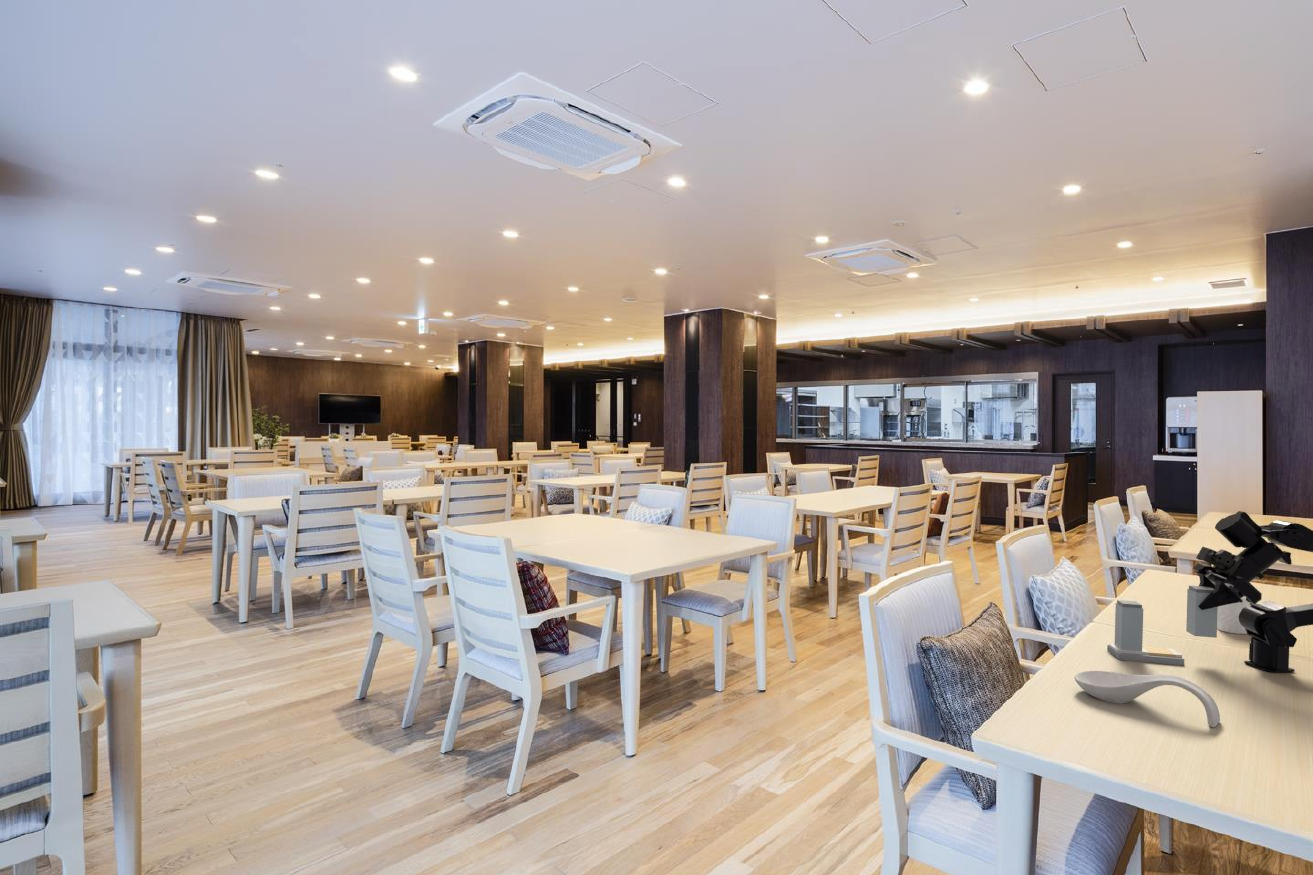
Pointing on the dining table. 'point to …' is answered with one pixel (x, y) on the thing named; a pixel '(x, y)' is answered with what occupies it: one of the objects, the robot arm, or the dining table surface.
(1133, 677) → the grey spoon
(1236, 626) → the white cup
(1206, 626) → the block
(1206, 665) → the dining table surface
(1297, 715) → the dining table surface
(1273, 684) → the dining table surface
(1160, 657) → the rail board
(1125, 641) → the block
